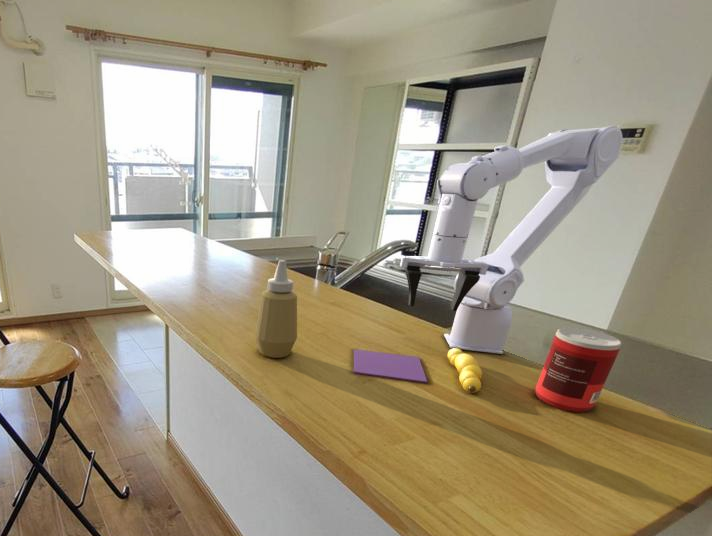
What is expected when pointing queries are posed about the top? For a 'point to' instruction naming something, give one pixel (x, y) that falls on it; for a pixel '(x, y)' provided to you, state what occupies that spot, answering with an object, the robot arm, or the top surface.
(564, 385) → the canned food
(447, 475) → the top surface
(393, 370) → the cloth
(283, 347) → the squeeze bottle
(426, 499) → the top surface
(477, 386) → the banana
